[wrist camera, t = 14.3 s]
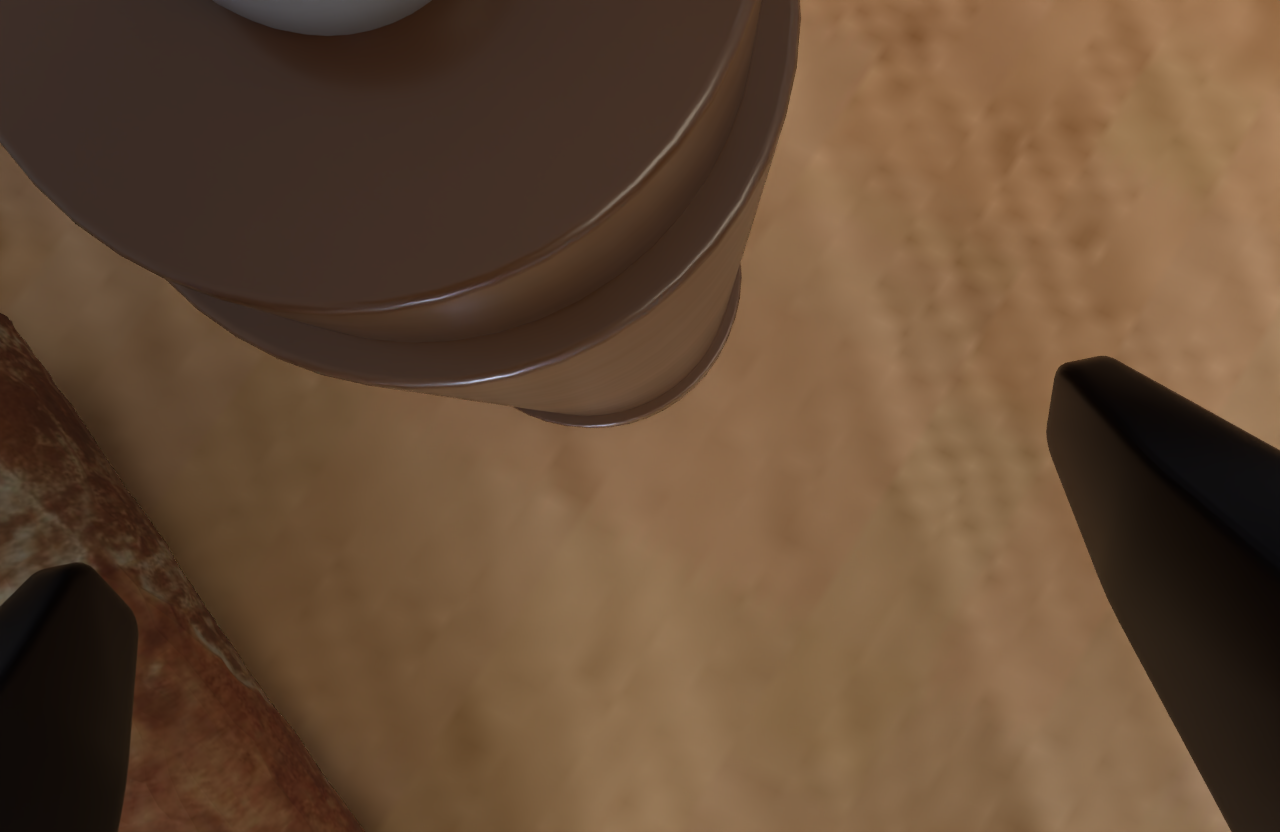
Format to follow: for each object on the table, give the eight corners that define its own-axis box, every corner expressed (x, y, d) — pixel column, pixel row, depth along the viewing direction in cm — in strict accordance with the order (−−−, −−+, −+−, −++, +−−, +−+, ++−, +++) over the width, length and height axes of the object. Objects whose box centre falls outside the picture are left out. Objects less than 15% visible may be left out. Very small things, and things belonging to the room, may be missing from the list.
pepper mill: (783, 210, 18) (1200, -757, 3) (668, 473, 18) (583, 650, 3) (522, 100, 19) (-142, -1237, 4) (409, 358, 19) (-705, 65, 4)
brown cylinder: (57, 286, 19) (-203, 225, 13) (636, 1100, 18) (616, 1396, 13) (-196, 477, 19) (-556, 496, 14) (368, 1292, 18) (230, 1668, 13)
